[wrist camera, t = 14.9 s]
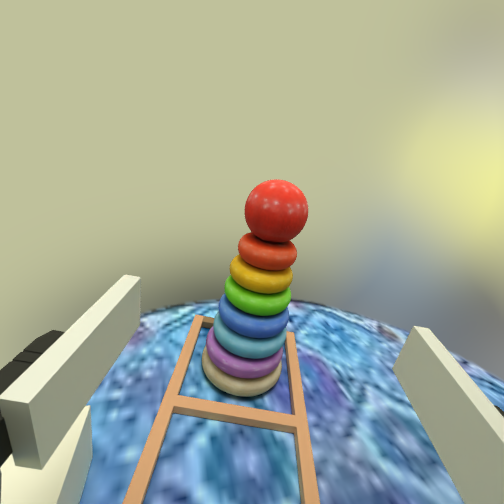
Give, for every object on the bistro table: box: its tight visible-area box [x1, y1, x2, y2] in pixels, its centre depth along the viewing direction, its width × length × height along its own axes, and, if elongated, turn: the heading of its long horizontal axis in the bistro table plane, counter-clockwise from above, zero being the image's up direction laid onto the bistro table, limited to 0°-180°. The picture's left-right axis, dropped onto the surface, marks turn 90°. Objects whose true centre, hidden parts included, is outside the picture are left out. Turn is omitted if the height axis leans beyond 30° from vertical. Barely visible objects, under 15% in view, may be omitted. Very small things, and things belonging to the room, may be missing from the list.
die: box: [0, 406, 93, 504], centre depth 15 cm, size 5×5×5 cm
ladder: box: [122, 315, 320, 504], centre depth 18 cm, size 12×34×1 cm, turn 177°
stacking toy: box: [202, 180, 308, 397], centre depth 25 cm, size 8×8×19 cm
